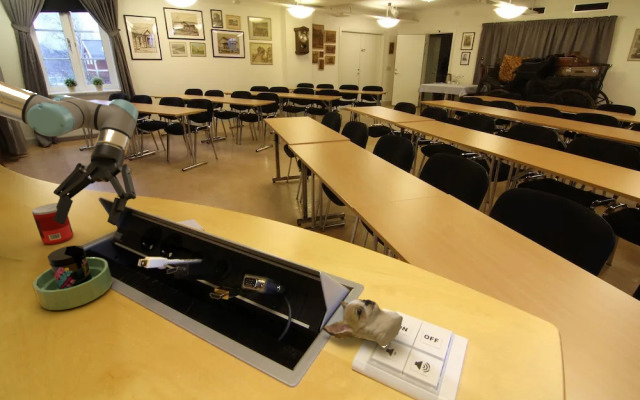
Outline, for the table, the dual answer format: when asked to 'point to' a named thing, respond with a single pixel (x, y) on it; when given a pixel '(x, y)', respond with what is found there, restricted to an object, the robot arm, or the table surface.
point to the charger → (192, 224)
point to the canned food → (51, 225)
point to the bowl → (74, 295)
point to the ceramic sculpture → (366, 322)
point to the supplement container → (69, 266)
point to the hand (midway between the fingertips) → (85, 223)
